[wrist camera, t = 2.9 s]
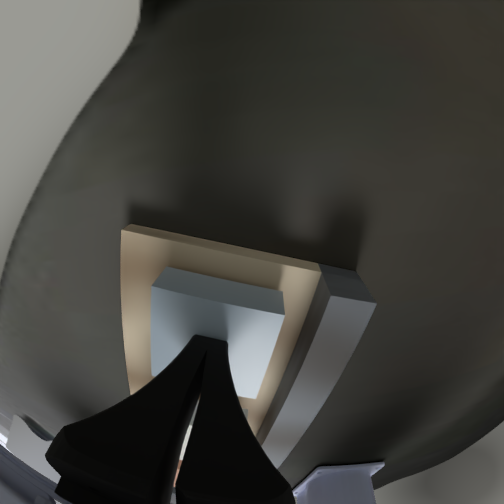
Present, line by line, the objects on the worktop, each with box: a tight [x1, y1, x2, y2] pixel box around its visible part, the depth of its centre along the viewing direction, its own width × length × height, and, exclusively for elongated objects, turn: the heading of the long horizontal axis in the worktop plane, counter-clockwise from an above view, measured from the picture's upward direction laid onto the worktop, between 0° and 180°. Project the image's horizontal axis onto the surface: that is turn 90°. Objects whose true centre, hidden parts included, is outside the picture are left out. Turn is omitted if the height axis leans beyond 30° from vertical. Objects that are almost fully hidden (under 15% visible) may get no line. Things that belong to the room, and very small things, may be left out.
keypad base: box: [121, 224, 377, 469], centre depth 15 cm, size 21×11×3 cm, turn 168°
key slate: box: [151, 266, 285, 399], centre depth 12 cm, size 5×5×2 cm
